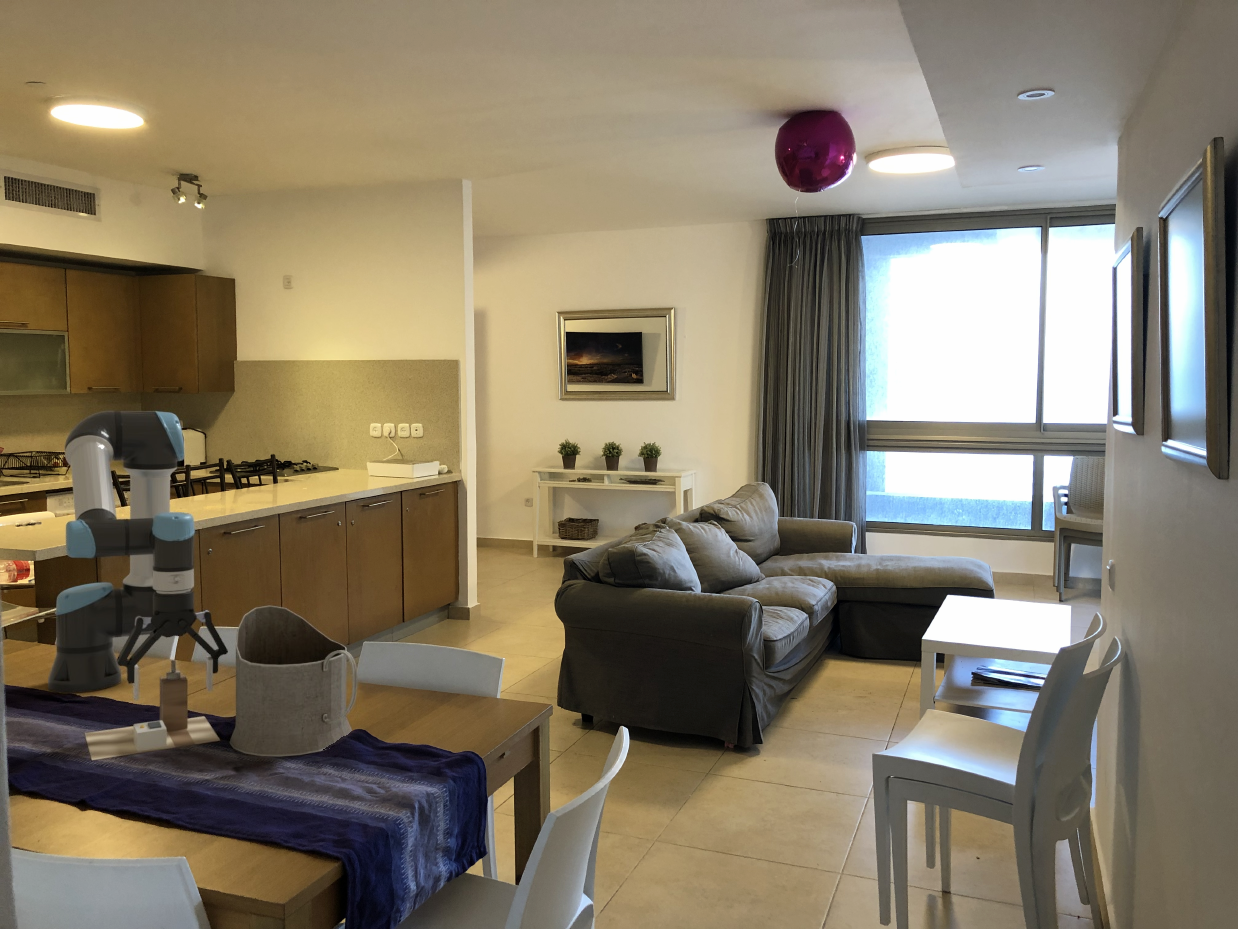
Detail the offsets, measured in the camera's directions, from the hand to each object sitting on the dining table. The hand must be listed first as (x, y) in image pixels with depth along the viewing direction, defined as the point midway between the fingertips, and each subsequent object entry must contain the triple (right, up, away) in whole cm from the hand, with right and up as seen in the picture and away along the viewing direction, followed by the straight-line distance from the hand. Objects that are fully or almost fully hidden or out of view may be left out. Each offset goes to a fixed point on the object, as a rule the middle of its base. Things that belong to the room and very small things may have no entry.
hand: (173, 694), depth 195 cm
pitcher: (+27, -9, -3) cm, 29 cm away
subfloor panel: (-2, -8, -6) cm, 10 cm away
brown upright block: (0, -7, 0) cm, 7 cm away
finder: (0, -7, -10) cm, 12 cm away
